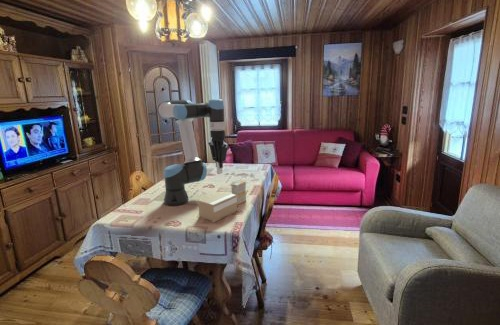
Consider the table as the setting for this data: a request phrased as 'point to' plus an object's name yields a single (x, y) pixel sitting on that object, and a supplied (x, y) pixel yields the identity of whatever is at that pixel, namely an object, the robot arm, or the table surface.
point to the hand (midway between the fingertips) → (219, 173)
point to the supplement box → (239, 191)
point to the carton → (217, 210)
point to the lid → (217, 198)
